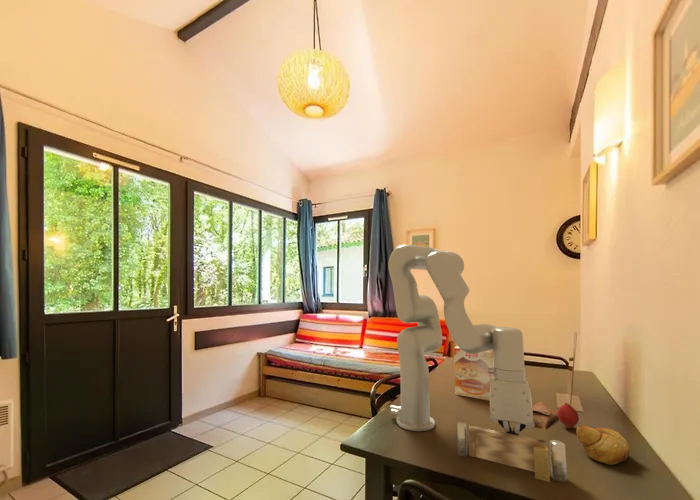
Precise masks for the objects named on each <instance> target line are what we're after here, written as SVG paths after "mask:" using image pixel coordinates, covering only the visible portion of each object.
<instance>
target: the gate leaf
mask: <svg viewBox="0 0 700 500" xmlns="http://www.w3.org/2000/svg"><path fill="white" fill-rule="evenodd" d="M546 442H547V441H546V440H543V439H536V438H532V437H527V436H524V435H520V434H519V435H514V434H509V433H506V432H505V431H504V432H503V431H501V430H500V431H499V430H493V429H490V428H484V427H481V426H476V425H475V426H474V425H471V424H470V425H469V426H468V449H469V450H468V454H469V457H474V458H479V459H483V460H487V461H491V462H494V463H498V464H503V465H506V466H510V467H515V468H519V469H522V470H526V471H531V472H534V473H535V465H534V445H538V446H543V447H547V446H546V445H547V444H546Z"/></svg>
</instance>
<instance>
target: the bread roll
mask: <svg viewBox="0 0 700 500" xmlns="http://www.w3.org/2000/svg"><path fill="white" fill-rule="evenodd" d="M576 438H577V439H578V442H579V443H580V444H581V445H582V447H583V450H584V452H585V454H586V455H587V456H588V457H589V458H590V459H592V460H594V461H596V462H599V463H601V464H606V465H611V466H613V465H616V464H619V463H621V462H624V461H626V460H628V458H629V455H630V445H629V443H628V441H627V439H625V438H624V437H623V436H622V434H620V433H619V432H618V431H615V430H614V429H612V428H606V427H595V428H593V427H591V426H587V424H586V425H585V424H581V425H579V426H577V428H576Z"/></svg>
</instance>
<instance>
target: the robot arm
mask: <svg viewBox="0 0 700 500" xmlns="http://www.w3.org/2000/svg"><path fill="white" fill-rule="evenodd" d="M387 262H388V263H387V266H388V272H389V273H388V274H389V276H390V280H391V283H392V288H393V289H392V290H393V297H394V303H395V309H396V315H397V318H398V319H399V321H400V322H401V323H405V324H414V323H415V324H417V325H416V326H409V327H406V328H404V329H402V330H401V331H400V332H399V333H398V335H397V338H396V345H397V346H396V347H397V352H398V356H399V357H398V358H399V374H400V375H399V377H400V378H399V380H400V405H399V406H397V405H392V404H391V405H390V407H389V411H390V414H391V415H397V417H396V424H397V425H398V426H399V427H400V428H403V429H404V430H408V431H413V432H425V431H430V430H432V429H434V427H435V426H436V422H435V419H434V418H433V417H431V413H430V412H431V411H430V410H431V409H430V407H431V405H430V403H431V402H430V374H429V370H430V369H429V364H428V362H427V360H426V356H425V355H426V354H431V353H435V352H437V351H439V350H440V348H441V347H442V344H443V332H442V328H441V322H440V321H441V320H440V315H439V310H438V308H437V305H436V303H435V301H434V300H433V299H432V298H431V297H430V296H427V295H422V294H421V295H420V294H419V290H418V284H417V280H416V279H415V277H414V275H413V273H412V272H411V270H422V271H423V270H424V271H427V273H428V274H429V277H430V278H431V280H432V283H434V285H435V287H436V290H437V291H438V292H439V295H440V296H441V298H442V300H443V314H444V315H443V317H444V321H445V322H444V323H445V325H446V327H447V330H448V331H449V334H450V335H451V337H452V339H453V341H454V342H455V344H456V346H458V347H459V348H460V349H461V350H462V351H464V352H466V353H468V354H476V353H480V352H484V351H490V350H493V362H494V367H493V368H488V373H491V374H493V375H494V377H493V378H492V379H491V383H490V401H489V420H490V421H492V422H494V423H497V424H499V426H501V428H502V429H503V430H504V432H505V433H509V434H514V435H519V436H520V433H521V432H522V431H523V430H525V429H531V428H532V429H533V428H536V427H535V423H534V420H533V408H532V406H533V400H532V392H531V388H530V384H529V382H528V380H526V370H525V369H526V368H525V353H524V338H523V337H524V336H523V332H522V330H520V329H519V328H516V327H508V326H502V327H501V326H496V325H492V324H488V323H487V324H486V323H481V324H473V323H472V321H471V319H470V318H469V316H468V314H467V311H466V308H465V301H466V298H467V296H468V295H469V293H470V287H469V286H468V284H467V283H466V281H465V279H464V278H463V276H462V273H463V272H464V269H465V262H464V260H463V258H462V257H461V256H460V255H459V254H458V253H456V252H453V251H447V250H442V249H438V248H435V247H430V246H424V245H416V244H402V245H398V246H397V247H395V248H394V249H393V250H392V252H391V254H390V255H389V258H388V261H387ZM510 423H514V427H513V429H512V427H511V425H510Z"/></svg>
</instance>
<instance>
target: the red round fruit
mask: <svg viewBox="0 0 700 500" xmlns="http://www.w3.org/2000/svg"><path fill="white" fill-rule="evenodd" d="M557 415H558V418H557V419H558V420H559V421H560V423H562V424H563V425H564V426H565V427H566V428H567V429H571V428H574V427H575V426H576V425H577V424H578V423H579V420H580V419H579V414H578V411H577V410H576V409H575V408H574V407H573V406H571V404H570V403H569V402H567V401H566V402H564V404H562V405H561V406H559V408H558V410H557Z"/></svg>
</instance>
